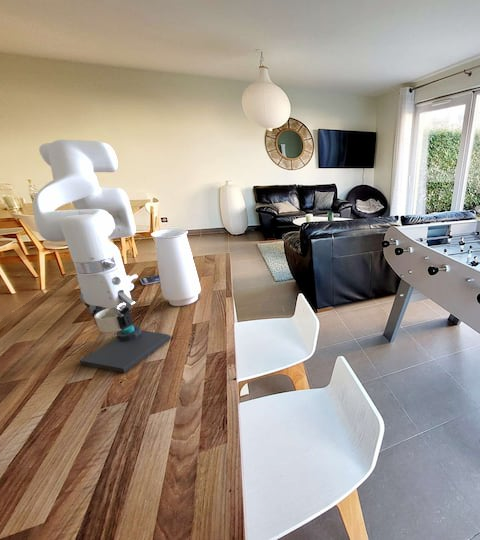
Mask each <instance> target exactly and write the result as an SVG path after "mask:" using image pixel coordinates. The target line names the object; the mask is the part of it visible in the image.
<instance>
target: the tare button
mask: <svg viewBox="0 0 480 540" xmlns="http://www.w3.org/2000/svg"><path fill="white" fill-rule="evenodd" d="M134 331H135V329H134V324H132V325H131V326H129V327H127V328H126V329H124V330H122V332H123V334H129V333H132V332H134Z"/></svg>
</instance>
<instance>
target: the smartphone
mask: <svg viewBox="0 0 480 540" xmlns="http://www.w3.org/2000/svg"><path fill="white" fill-rule="evenodd" d="M139 281H140V283H141V284H142V285H143V286H146V285H151V284H152V285H153V284H156V283H160V277H159V274H156V275H151V276H146V277H140V278H139Z"/></svg>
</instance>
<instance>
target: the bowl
mask: <svg viewBox="0 0 480 540" xmlns="http://www.w3.org/2000/svg"><path fill="white" fill-rule="evenodd" d="M119 309H120V310H121V311H122V310H123V307H122V306H120V307H119ZM117 317H118V314H117V313H116V312H115V311H114V309H113V308H107V307H106V309H104V310H102V311H100V312H98V313H96V314H95V316H94V318H95V321H96V324H97V327H96V328H97V329H98V331H99V332H100V333H104V334H112V333H117V332H118V331H120V330H121V329H120V326H119V323H118V320H117ZM94 318H93V319H94ZM95 321H94V322H95ZM96 324H95V325H96Z"/></svg>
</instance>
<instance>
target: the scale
mask: <svg viewBox="0 0 480 540" xmlns="http://www.w3.org/2000/svg"><path fill="white" fill-rule="evenodd" d="M133 326H134V329H135V331H134V332H132V333H129V334H123V332H122V330H120V331H117V332H115V334H116V337H115V338H114V339H112V340H111V341H109V342H107V343H106V344H104V345H103V346H101V347H100V348H98V349H96V350H94V351H93V352H90V353H89V354H88V355H86V356H85V357H83V358H81V359H79V362H80V365H82V366H87V367H92V368H98V369H103V370H108V371H115V372H119V373H126V372H128V371H129V370H130V369H132V368H133V367H134V366H136V365H137V364H138V363H140V362H141V361H142V360H143V359H145V358H146V357H148V356H149V355H150V354H151V353H153V352H154V351H156V350H157V349H159V347H161V346H162V345H164V344H165V343H166V342H167V341H169V340H170V339H171V335H170V334H167V333H160V332H154V331H148V330H142V328H141V327H140V326H139V325H136V324H135V325H134V324H133Z"/></svg>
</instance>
